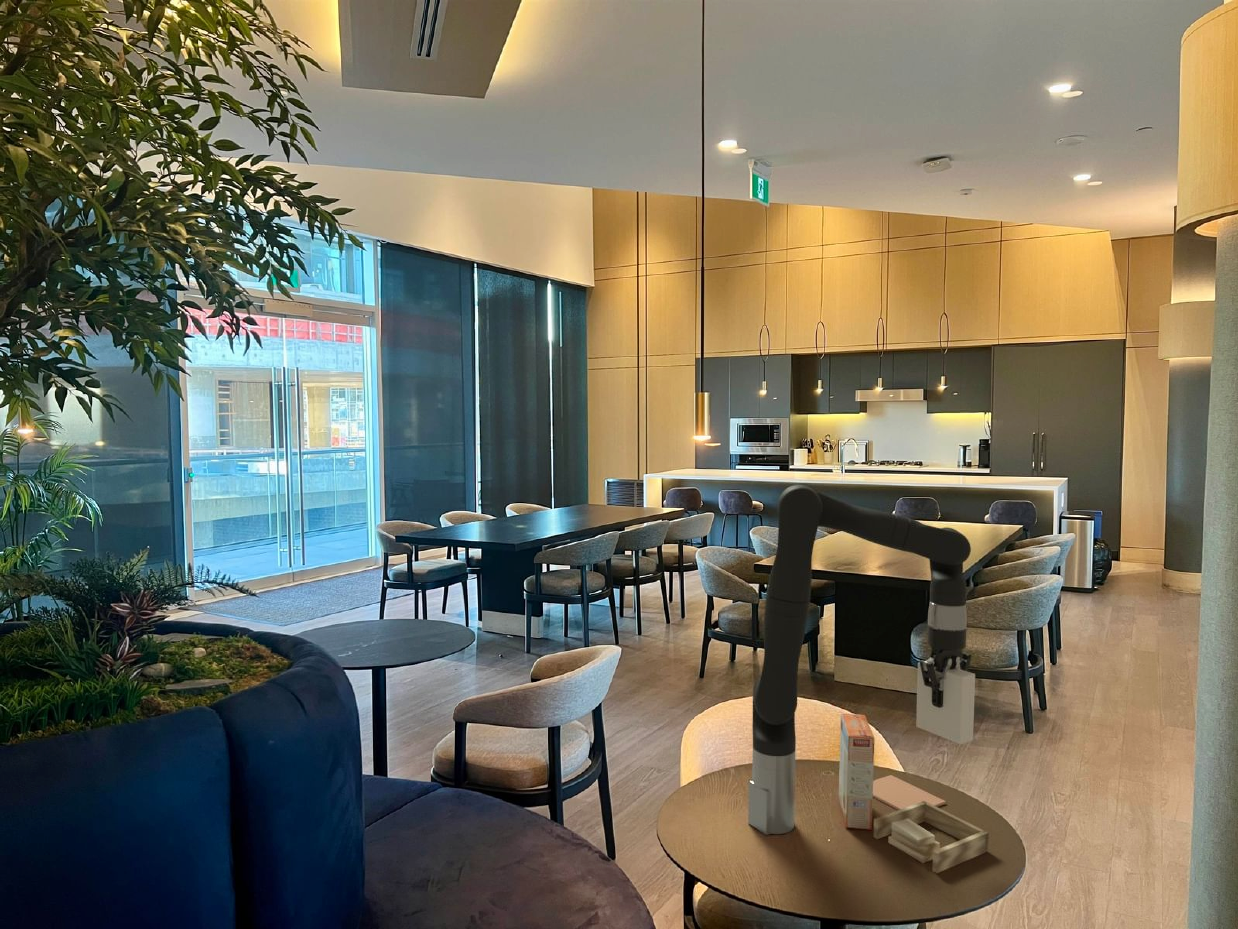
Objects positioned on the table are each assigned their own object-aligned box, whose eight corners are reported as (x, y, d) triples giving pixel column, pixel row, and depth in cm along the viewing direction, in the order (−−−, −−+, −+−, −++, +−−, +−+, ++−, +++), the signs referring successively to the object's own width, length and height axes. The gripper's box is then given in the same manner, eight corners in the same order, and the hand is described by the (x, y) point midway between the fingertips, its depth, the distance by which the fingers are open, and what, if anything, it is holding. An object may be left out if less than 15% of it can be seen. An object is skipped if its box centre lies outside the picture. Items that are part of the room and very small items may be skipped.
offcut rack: (936, 873, 160) (937, 853, 160) (873, 837, 174) (874, 818, 174) (988, 851, 168) (988, 832, 168) (923, 818, 182) (924, 801, 182)
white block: (960, 744, 166) (962, 677, 165) (916, 726, 175) (917, 662, 174) (973, 740, 168) (975, 674, 167) (928, 723, 177) (930, 660, 176)
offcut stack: (922, 864, 164) (923, 843, 163) (888, 843, 172) (888, 823, 171) (940, 858, 166) (941, 836, 166) (905, 837, 174) (906, 817, 174)
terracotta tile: (910, 816, 183) (910, 814, 183) (856, 788, 196) (856, 786, 196) (945, 804, 189) (945, 801, 189) (890, 777, 202) (890, 775, 202)
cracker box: (873, 831, 176) (875, 737, 175) (845, 829, 177) (846, 735, 176) (864, 801, 190) (866, 713, 189) (837, 799, 191) (839, 712, 190)
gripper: (953, 616, 177) (951, 693, 178) (909, 624, 170) (907, 705, 171) (984, 623, 170) (982, 704, 171) (939, 632, 163) (937, 716, 164)
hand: (944, 704), depth 171 cm, fingers closed on white block, 4 cm apart
